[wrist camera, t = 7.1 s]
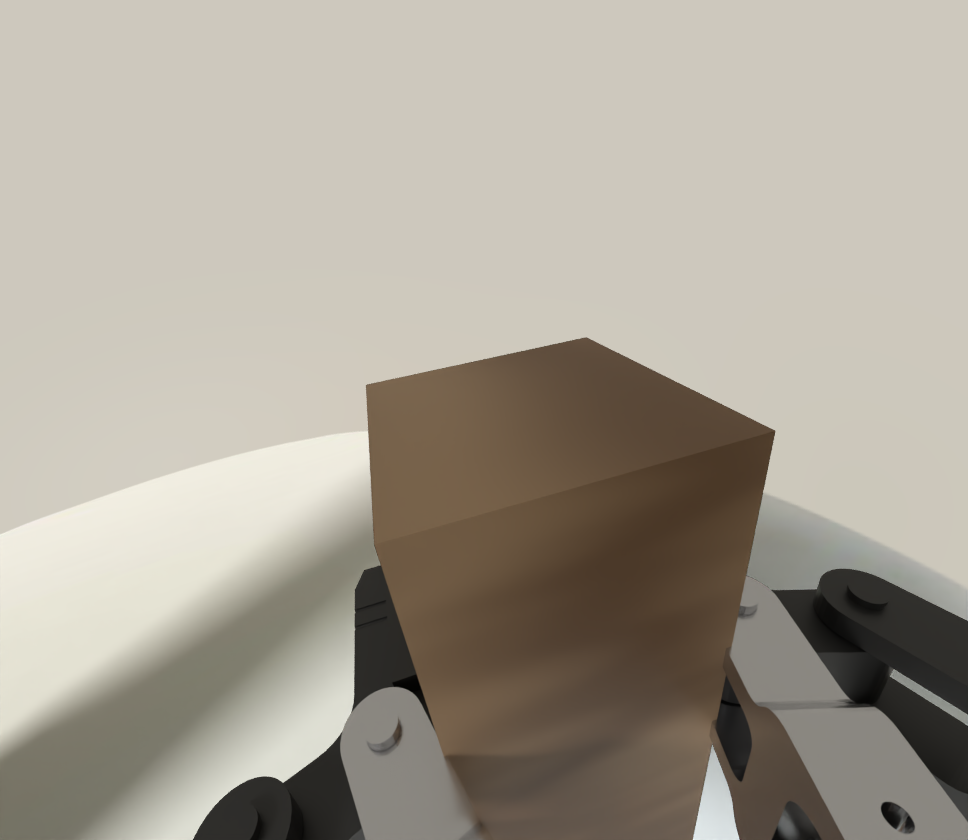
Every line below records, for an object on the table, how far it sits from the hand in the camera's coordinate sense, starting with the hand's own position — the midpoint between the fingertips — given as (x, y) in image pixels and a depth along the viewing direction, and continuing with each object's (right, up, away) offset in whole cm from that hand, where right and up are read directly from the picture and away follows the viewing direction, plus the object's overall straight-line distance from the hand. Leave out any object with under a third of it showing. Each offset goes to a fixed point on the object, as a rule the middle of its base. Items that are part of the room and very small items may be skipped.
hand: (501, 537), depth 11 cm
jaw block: (+2, -6, 0) cm, 7 cm away
